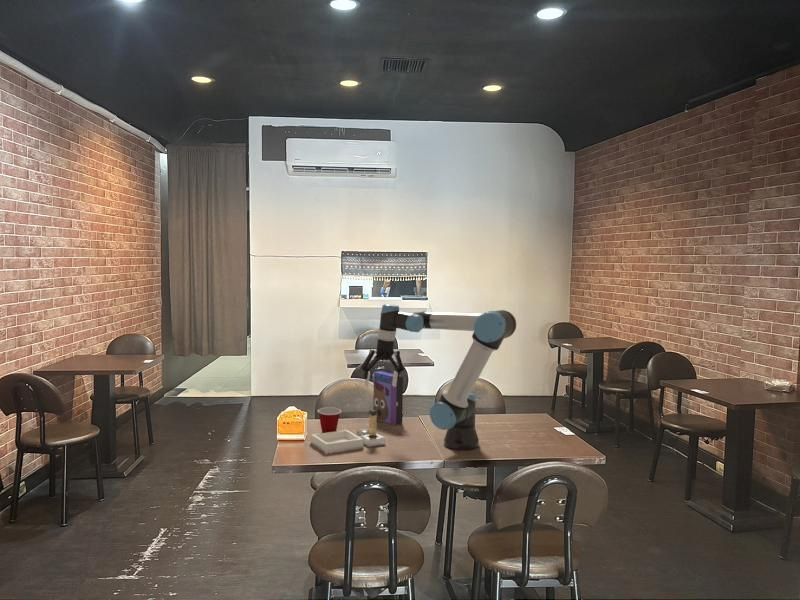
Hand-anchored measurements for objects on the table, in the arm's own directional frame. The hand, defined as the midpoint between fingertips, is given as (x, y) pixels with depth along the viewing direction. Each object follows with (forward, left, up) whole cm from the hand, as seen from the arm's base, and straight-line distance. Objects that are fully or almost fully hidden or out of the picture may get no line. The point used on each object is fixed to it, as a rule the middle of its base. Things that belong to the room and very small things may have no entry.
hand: (380, 386), depth 272 cm
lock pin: (-3, +5, -24) cm, 25 cm away
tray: (+1, +20, -24) cm, 32 cm away
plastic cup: (+17, +17, -25) cm, 34 cm away
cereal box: (+29, -20, -25) cm, 43 cm away
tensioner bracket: (+1, +5, -24) cm, 25 cm away
